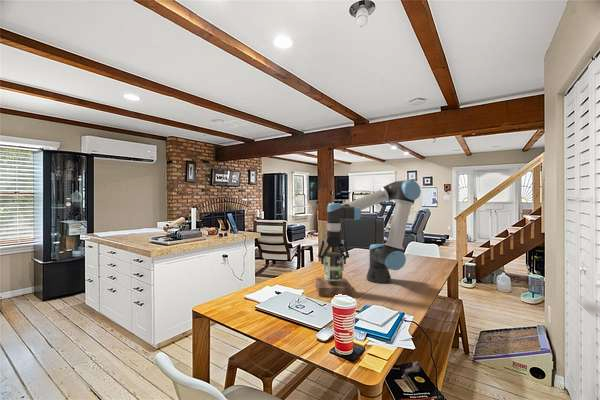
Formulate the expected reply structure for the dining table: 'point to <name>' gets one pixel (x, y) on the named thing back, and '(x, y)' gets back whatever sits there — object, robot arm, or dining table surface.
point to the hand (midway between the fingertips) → (333, 269)
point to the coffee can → (333, 266)
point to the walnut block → (333, 287)
